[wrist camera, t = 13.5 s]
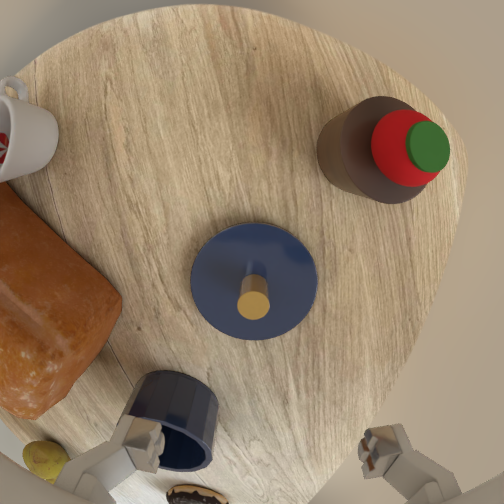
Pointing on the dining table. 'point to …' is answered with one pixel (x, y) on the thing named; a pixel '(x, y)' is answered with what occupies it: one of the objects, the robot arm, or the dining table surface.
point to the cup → (24, 132)
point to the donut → (194, 496)
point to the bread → (46, 311)
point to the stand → (360, 152)
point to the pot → (178, 417)
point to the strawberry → (409, 148)
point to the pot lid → (254, 281)
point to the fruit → (45, 459)
